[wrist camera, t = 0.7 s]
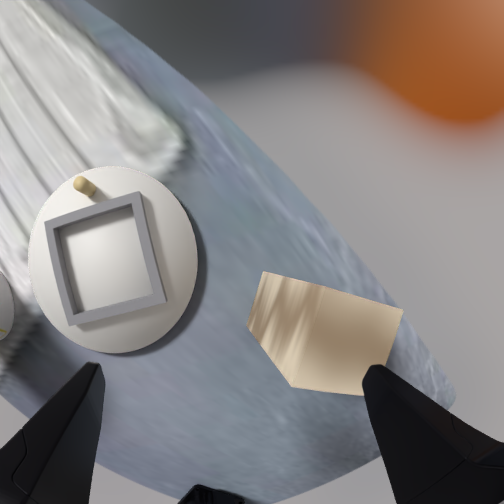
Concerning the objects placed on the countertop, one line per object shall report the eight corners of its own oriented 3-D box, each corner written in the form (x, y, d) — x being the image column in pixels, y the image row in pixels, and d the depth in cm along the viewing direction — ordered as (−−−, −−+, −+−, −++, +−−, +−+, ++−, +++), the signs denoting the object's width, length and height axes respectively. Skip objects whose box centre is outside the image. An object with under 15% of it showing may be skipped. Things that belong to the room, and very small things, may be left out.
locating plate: (219, 326, 25) (222, 337, 22) (61, 362, 23) (46, 375, 19) (174, 149, 25) (171, 134, 21) (22, 199, 22) (3, 193, 18)
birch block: (297, 338, 27) (372, 396, 14) (246, 325, 26) (291, 386, 13) (314, 286, 27) (403, 309, 14) (263, 271, 26) (325, 286, 13)
